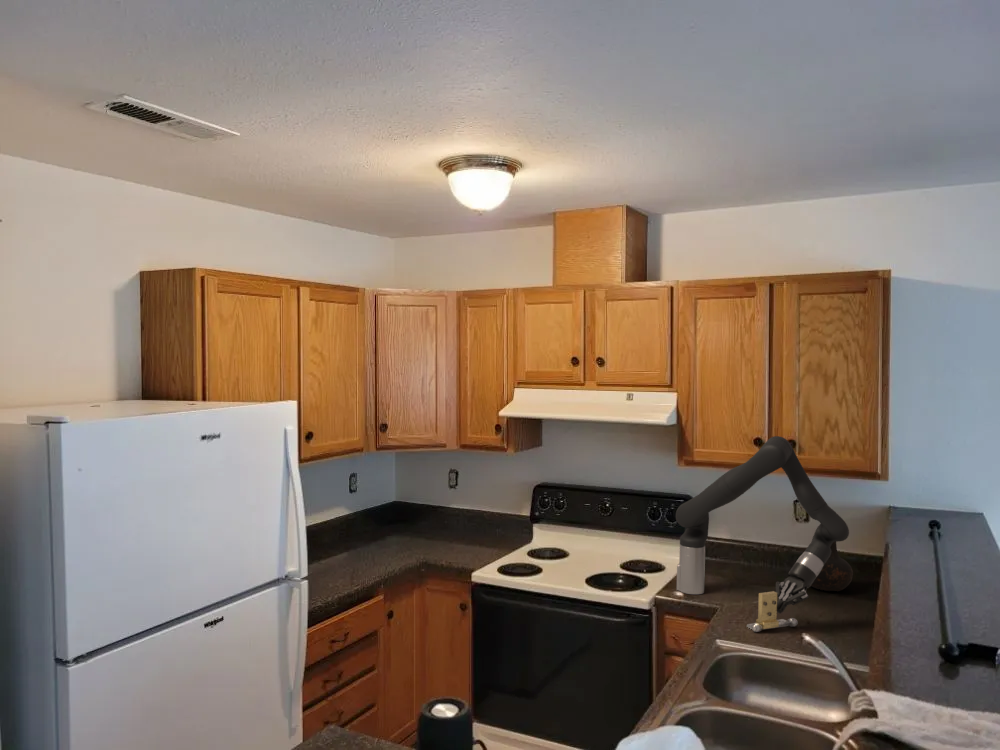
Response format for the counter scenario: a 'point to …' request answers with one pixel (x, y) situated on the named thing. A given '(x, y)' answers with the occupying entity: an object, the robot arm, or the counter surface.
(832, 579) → the glass bottle
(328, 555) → the counter surface
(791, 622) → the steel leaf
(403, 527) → the counter surface
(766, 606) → the yellow bracket with holes
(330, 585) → the counter surface
